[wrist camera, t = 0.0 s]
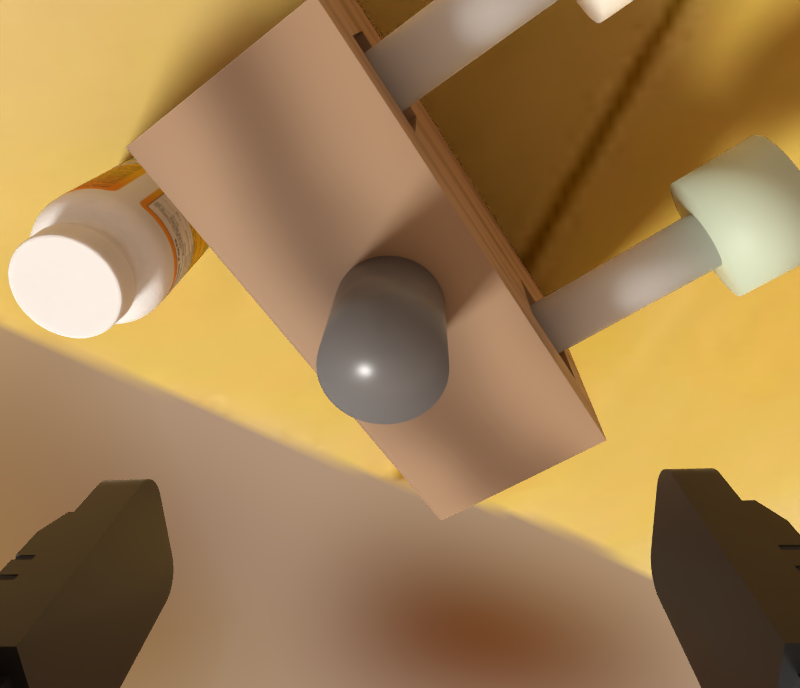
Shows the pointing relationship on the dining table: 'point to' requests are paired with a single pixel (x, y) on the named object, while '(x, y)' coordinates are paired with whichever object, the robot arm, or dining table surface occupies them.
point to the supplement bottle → (103, 254)
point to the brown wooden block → (371, 243)
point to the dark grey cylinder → (385, 342)
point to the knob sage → (693, 243)
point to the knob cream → (455, 40)
